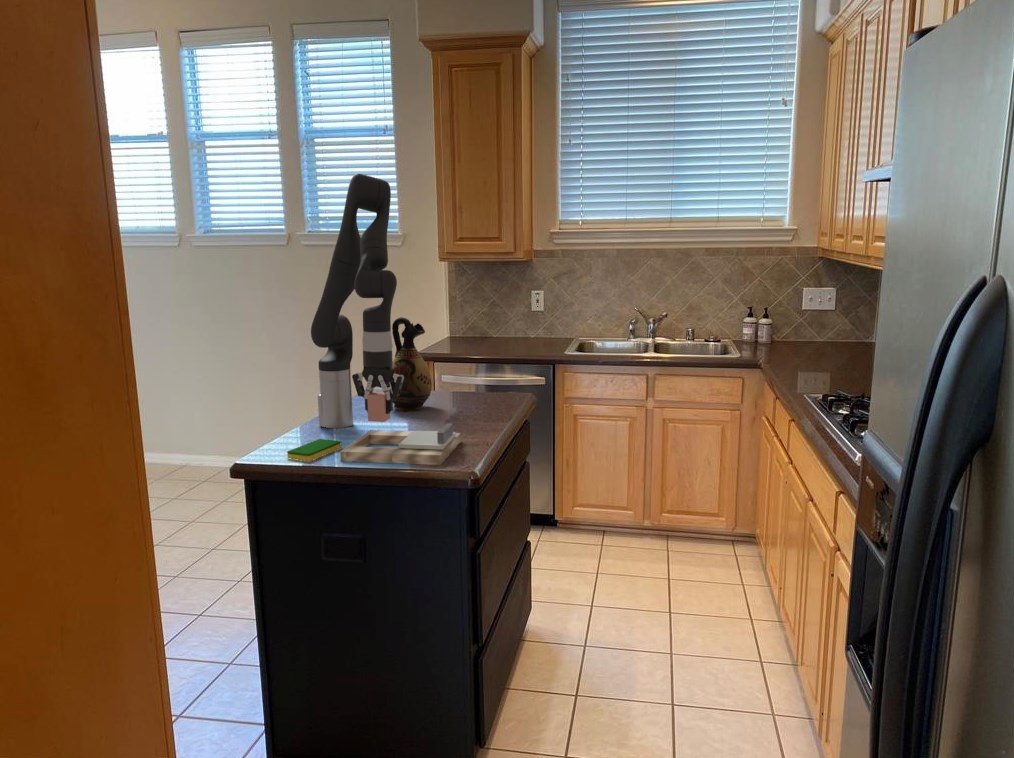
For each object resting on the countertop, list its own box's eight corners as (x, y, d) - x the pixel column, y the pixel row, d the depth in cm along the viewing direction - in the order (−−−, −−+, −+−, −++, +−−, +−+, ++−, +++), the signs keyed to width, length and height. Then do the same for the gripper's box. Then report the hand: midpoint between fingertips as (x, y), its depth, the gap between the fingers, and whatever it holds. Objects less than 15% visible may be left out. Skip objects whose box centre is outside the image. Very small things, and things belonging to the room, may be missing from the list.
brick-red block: (368, 421, 195) (367, 394, 193) (374, 417, 199) (373, 391, 198) (384, 422, 194) (383, 395, 193) (390, 418, 198) (389, 392, 197)
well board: (340, 461, 189) (340, 451, 188) (370, 438, 210) (370, 430, 210) (440, 465, 184) (440, 455, 184) (461, 441, 206) (460, 433, 205)
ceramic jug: (442, 406, 251) (439, 317, 246) (412, 415, 238) (409, 321, 233) (403, 401, 260) (400, 314, 255) (372, 409, 247) (368, 319, 242)
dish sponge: (342, 449, 201) (341, 440, 201) (309, 463, 189) (309, 454, 188) (320, 447, 204) (319, 438, 203) (286, 460, 191) (286, 451, 191)
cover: (398, 448, 190) (398, 433, 189) (414, 434, 203) (413, 420, 203) (442, 449, 188) (442, 434, 187) (455, 435, 202) (455, 421, 201)
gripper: (345, 349, 191) (347, 414, 194) (399, 351, 188) (400, 417, 191) (356, 345, 198) (358, 408, 201) (408, 347, 195) (409, 410, 199)
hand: (379, 412), depth 196 cm, fingers closed on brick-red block, 4 cm apart
